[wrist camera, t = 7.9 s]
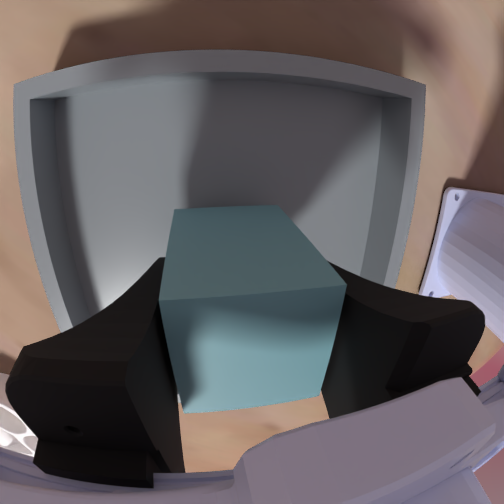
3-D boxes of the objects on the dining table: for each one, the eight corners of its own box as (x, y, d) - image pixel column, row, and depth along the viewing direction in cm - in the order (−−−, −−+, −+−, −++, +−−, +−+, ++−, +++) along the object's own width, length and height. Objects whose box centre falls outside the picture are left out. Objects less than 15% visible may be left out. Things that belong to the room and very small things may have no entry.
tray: (386, 85, 12) (425, 84, 9) (346, 343, 19) (365, 374, 16) (47, 87, 9) (13, 84, 7) (103, 365, 16) (95, 401, 13)
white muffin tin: (-49, 367, 15) (48, 367, 16) (44, 463, 23) (141, 470, 24) (-61, 390, 12) (35, 402, 13) (41, 483, 20) (141, 495, 21)
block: (277, 204, 12) (346, 284, 6) (272, 291, 13) (318, 395, 8) (174, 209, 11) (158, 300, 6) (182, 297, 13) (184, 413, 7)
